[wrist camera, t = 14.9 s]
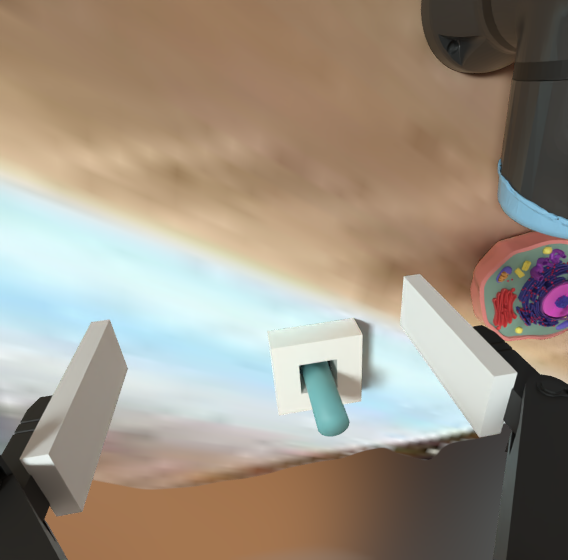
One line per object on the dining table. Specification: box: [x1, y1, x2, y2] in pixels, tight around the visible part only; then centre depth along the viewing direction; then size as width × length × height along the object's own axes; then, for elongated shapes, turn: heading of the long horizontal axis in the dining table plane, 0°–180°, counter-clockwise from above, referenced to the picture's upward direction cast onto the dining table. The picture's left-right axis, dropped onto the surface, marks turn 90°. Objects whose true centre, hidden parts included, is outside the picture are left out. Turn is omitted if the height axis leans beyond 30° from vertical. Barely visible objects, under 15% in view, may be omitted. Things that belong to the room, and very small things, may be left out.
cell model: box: [470, 231, 568, 341], centre depth 56 cm, size 17×20×11 cm
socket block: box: [267, 318, 363, 415], centre depth 62 cm, size 14×14×4 cm
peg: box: [300, 361, 349, 436], centre depth 58 cm, size 4×4×14 cm
